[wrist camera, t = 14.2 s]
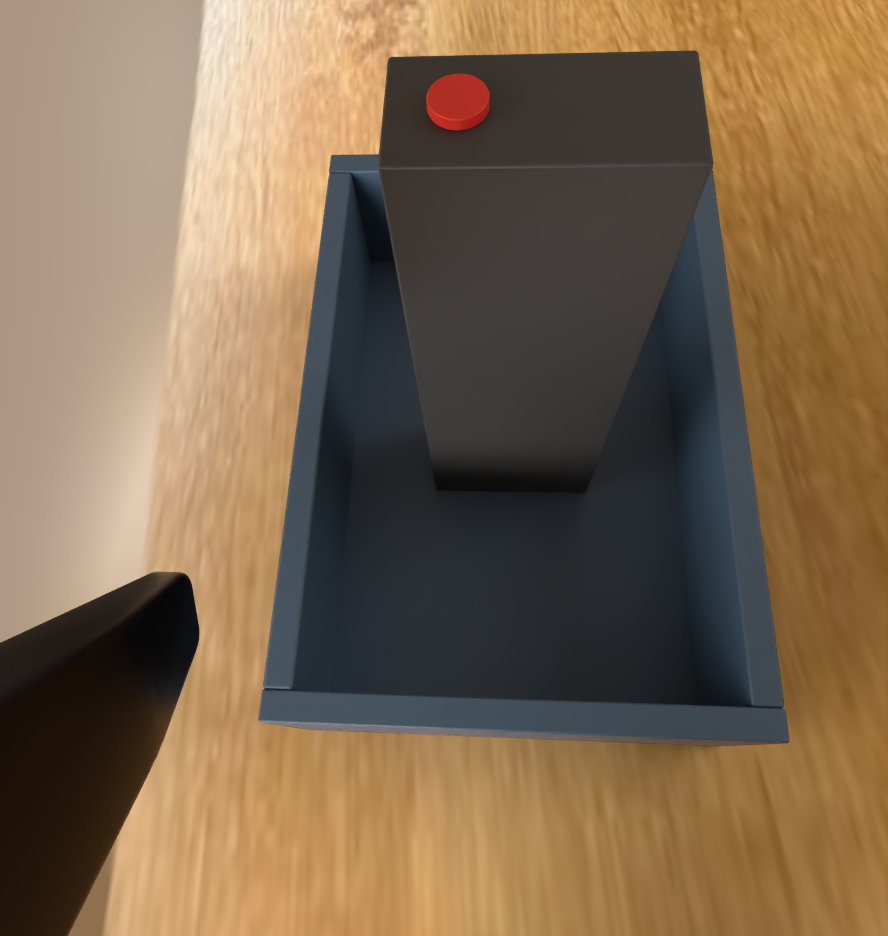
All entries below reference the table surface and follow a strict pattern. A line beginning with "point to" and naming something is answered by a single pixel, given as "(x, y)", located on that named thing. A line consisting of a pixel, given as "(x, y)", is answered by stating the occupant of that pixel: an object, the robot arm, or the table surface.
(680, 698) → the tote
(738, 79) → the table surface
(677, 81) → the block
